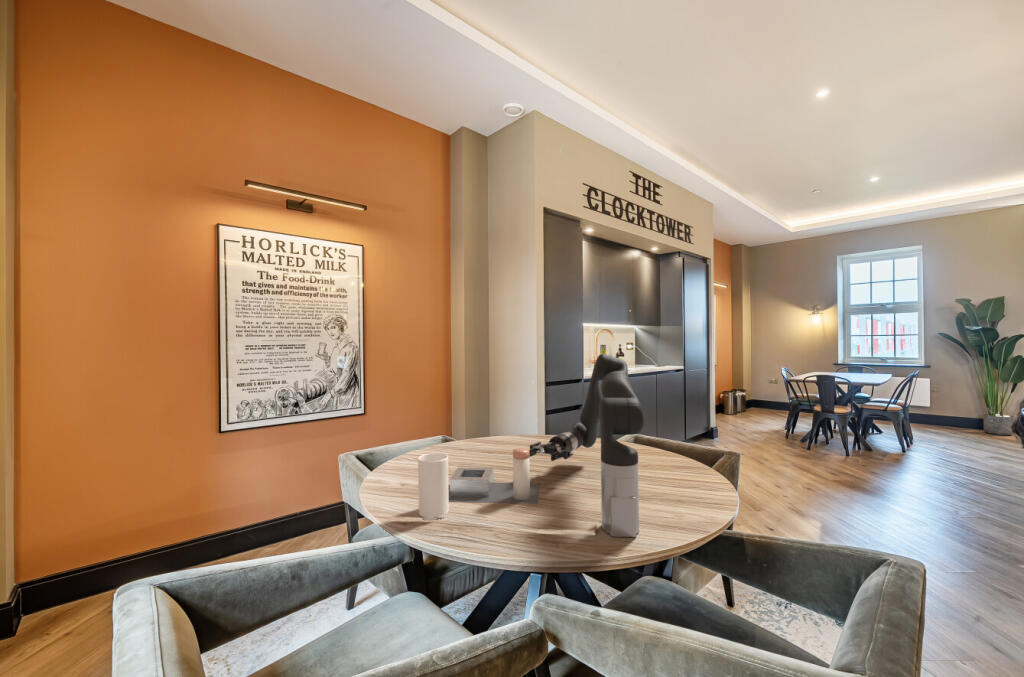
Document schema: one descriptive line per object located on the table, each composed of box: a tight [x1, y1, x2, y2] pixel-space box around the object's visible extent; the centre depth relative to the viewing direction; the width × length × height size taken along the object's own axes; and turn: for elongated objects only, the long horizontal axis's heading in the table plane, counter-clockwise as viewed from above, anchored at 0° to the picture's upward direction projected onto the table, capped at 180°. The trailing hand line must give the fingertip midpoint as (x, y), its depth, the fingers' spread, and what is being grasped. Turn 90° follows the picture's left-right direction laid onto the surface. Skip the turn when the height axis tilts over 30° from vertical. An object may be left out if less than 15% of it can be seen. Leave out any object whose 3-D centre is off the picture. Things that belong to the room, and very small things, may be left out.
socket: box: [449, 466, 495, 497], centre depth 129 cm, size 12×12×5 cm
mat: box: [449, 481, 540, 505], centre depth 127 cm, size 17×28×1 cm, turn 86°
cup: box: [417, 452, 450, 521], centre depth 113 cm, size 8×8×16 cm
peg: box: [512, 448, 531, 500], centre depth 122 cm, size 5×5×14 cm
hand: (540, 455), depth 132 cm, fingers open, 8 cm apart
